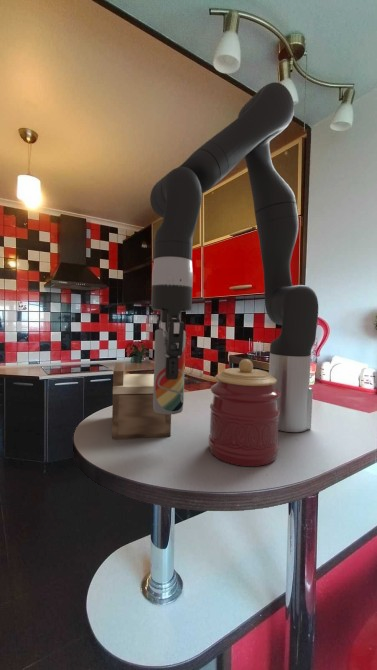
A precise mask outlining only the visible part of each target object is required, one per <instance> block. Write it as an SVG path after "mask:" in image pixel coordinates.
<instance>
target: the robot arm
mask: <svg viewBox="0 0 377 670" xmlns="http://www.w3.org/2000/svg"><path fill="white" fill-rule="evenodd" d="M294 103H295V102H294V98H293V96H292V93H291V92H290V90H289V89H288V87H286V86H285V85H284V84H282V83H280V82H277V81H276V82H275V81H274V82H271V83H268V84H266V85H264V86H262V87H261V88H259V90H258V91H257V92H256V93H255V94H254V95H253V96H252V97H251V98H250V99H249V100H248V101H247V102H246V103H245V104H244V105H243V106H242V108H241V109H240V110H239V112H238V115H237V118H236V119H235V120H233V122H231V123H229V124H228V125H227V126H226V127H224V128H223V129H221V130H220V131H219V132H218V133H216V134H215V135H213V136H212V137H211V138H210V139H208V140H207V141H206V142H204V143H203V144H202V145H201V146H199V147H198V148H197V149H196V150H195V151H193V153H191V154H190V156H188V158H186V160H185V161H184V162H182V164H180V165H179V166H178V167H176V168H173V169H171V171H169V172H168V173H167V174H166V175H164V176H163V177H162V178H161V179H159V180H158V181H157V182H156V183H155V184H154V185H153V187H152V189H151V191H150V195H149V196H150V197H149V200H150V202H149V203H150V207H151V209H152V211H153V212H154V213H155V214H156V215H157V216H158V217H160V218H163V219H162V222H161V224H160V226H158V228H157V230H156V232H155V234H154V243H153V244H154V245H153V246H154V247H153V248H154V251H153V253H154V254H153V267H152V270H151V271H152V273H151V300H150V301H151V304H150V305H151V306H150V307H151V309H152V310H153V311H160V312H161V310H164V311H166V313H167V320H166V322H165V321H161V320H159V324H158V326H159V329H161V330H163V344H164V345H165V346H166V353H165V356H166V379H177V378H178V362H179V359H178V358H180V356H182V345H183V333H184V331H185V323H184V321H182V320H181V321H180V312H181V313H182V312H185V313H186V312H190V311H191V310H192V309H193V307H192V306H193V284H194V283H193V281H194V279H193V277H194V276H193V275H194V272H193V271H194V270H193V238H194V234H195V231H196V228H197V224H198V223H197V222H198V219H199V215H200V211H201V205H202V200H203V197H202V195H203V194H204V193H205V192H207V191H209V190H211V189H212V188H214V187H215V186H216V185H217V184H218V183H219V182H220V181H222V179H224V177H226V176H227V175H228V174H229V173H230V172H231V171H232V170H233V169H234V168H235V167H236V166H237V165H238V164H239V163H240V162H241V161H242V160H243V159H244V160H245V164H246V168H247V173H248V174H247V175H248V179H249V184H250V189H251V194H252V200H253V210H254V216H255V224H256V225H255V226H256V231H257V235H258V240H259V248H260V254H261V263H262V268H263V269H262V270H263V287H264V288H263V289H264V291H263V292H264V305H265V311H266V314H267V316H268V318H269V319H270V321H271V322H272V323H274V324H276V325H279V326H281V331H280V334H279V336H278V337H277V338H276V339H274V340H271V342H270V346H269V361H268V362H269V367H268V373H269V374H270V375H271V376H272V377H274V378H275V379H276V380H277V382H276V383H275V384H274V386H275V388H276V389H278V390H279V391H280V392H281V396H280V397H279V398H278V408H279V410H280V414H279V425H278V431H282V432H289V433H301V432H305V431H306V430H311V429H312V414H313V397H314V395H313V394H314V389H313V388H312V387H310V381H311V380H310V379H311V377H310V376H311V358H312V357H311V356H312V349H313V347H314V344H315V342H316V338H317V329H318V328H317V327H318V318H319V301H318V296H317V294H316V292H315V291H314V289H313V288H311V287H310V286H307V285H303V284H297V285H296V284H295V285H293V283H292V274H291V261H292V256H293V252H294V250H295V245H296V242H297V238H298V234H299V215H298V213H299V212H298V209H297V208H298V207H297V201H296V196H295V193H294V191H293V189H292V188H291V187H290V185H289V184H288V183H287V182H286V181H285V179H284V178H283V177H282V176H281V175H280V174H279V173H278V172H277V170H276V169H275V166H274V164H273V162H272V157H271V149H270V142H271V140H273V139H274V138H275V137H277V136H279V135H280V134H281V133H282V132H283V131H284V130H285V129H286V128H287V127H289V125H290V123H291V122H292V120H293V117H294V115H295V104H294ZM166 330H167V332H168V340H167V339H166V335H165V334H164V331H166ZM171 345H176V346H177V349H171Z"/></svg>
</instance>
